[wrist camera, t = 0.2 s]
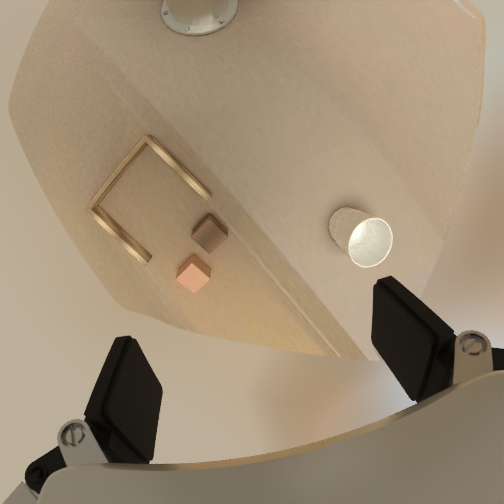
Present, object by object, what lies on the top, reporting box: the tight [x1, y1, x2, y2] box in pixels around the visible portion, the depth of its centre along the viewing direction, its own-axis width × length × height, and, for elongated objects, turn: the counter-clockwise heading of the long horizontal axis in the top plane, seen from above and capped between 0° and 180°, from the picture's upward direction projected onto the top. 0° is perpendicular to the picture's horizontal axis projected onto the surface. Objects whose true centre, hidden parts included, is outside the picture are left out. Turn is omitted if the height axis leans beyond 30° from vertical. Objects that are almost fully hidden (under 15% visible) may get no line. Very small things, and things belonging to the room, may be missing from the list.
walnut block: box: [191, 213, 228, 254], centre depth 44 cm, size 4×4×4 cm
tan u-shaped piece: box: [85, 135, 211, 266], centre depth 42 cm, size 14×16×3 cm
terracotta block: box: [176, 254, 211, 294], centre depth 46 cm, size 4×4×4 cm
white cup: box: [328, 207, 393, 268], centre depth 44 cm, size 8×8×10 cm
